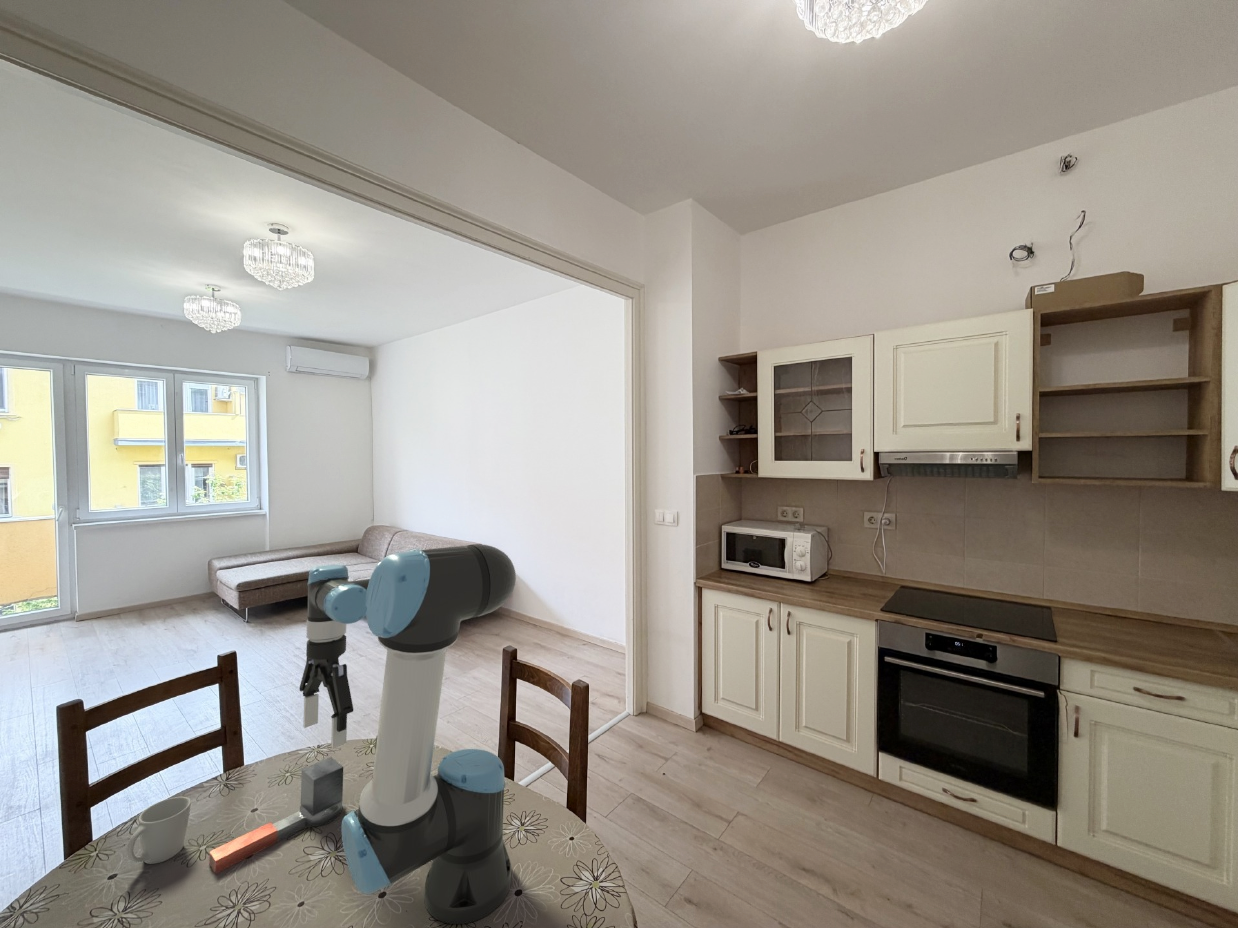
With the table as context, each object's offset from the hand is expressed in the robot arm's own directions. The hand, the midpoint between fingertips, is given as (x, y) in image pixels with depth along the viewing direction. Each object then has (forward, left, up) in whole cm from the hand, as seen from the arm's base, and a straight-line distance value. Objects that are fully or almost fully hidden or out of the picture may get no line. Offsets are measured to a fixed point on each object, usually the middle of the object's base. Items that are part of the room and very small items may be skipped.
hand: (324, 734), depth 108 cm
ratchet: (0, +7, -17) cm, 19 cm away
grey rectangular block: (0, 0, -15) cm, 15 cm away
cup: (+12, +24, -18) cm, 32 cm away
